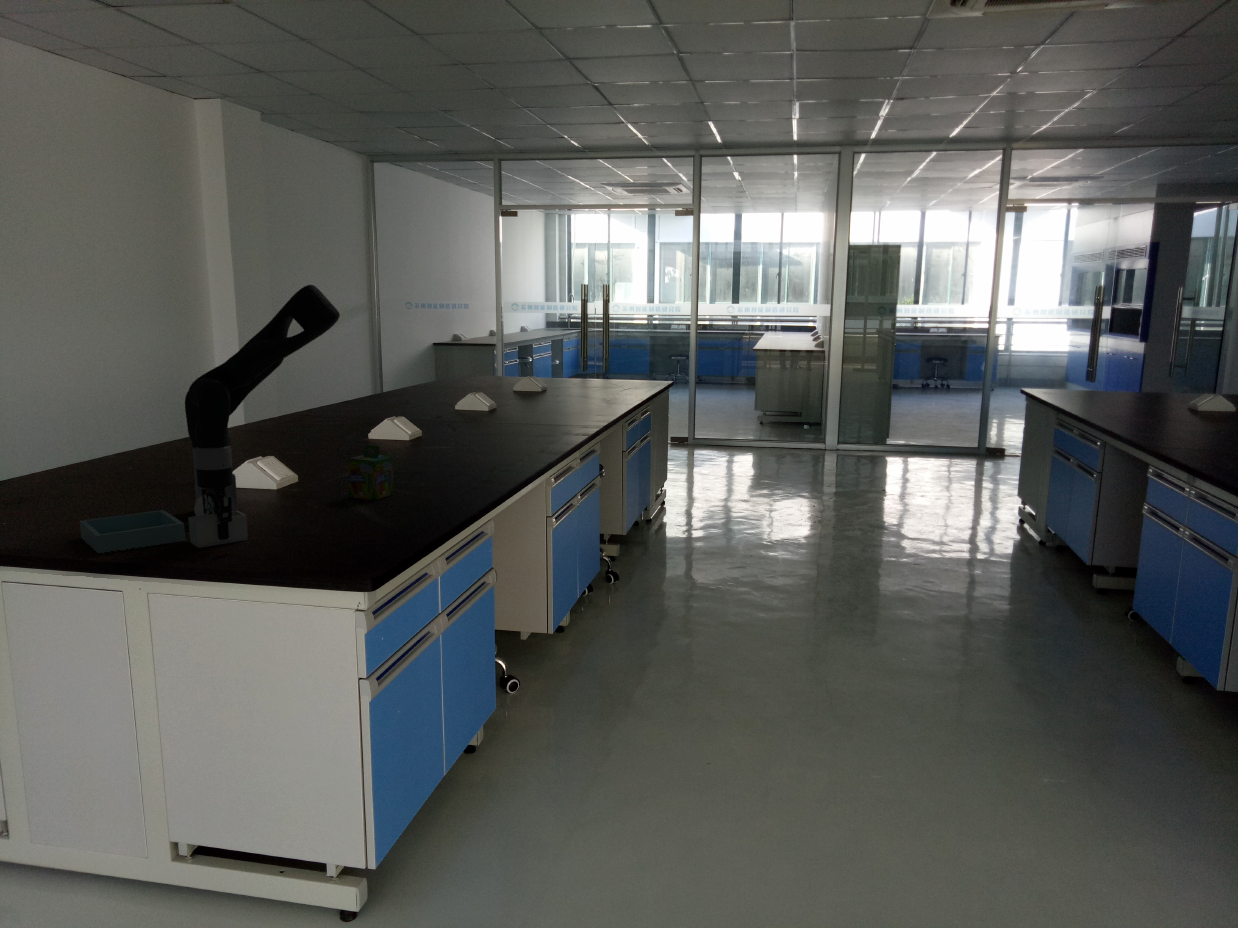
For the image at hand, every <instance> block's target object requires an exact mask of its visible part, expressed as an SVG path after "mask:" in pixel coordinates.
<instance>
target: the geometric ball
mask: <svg viewBox="0 0 1238 928" xmlns="http://www.w3.org/2000/svg"><path fill="white" fill-rule="evenodd" d="M193 510H194V514H195V516H200V515H206V514H204V509H203V501H202V496H201V497H200V498H199V499H198V500H196V499H195V504H194V508H193Z"/></svg>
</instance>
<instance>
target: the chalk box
mask: <svg viewBox="0 0 1238 928" xmlns="http://www.w3.org/2000/svg"><path fill="white" fill-rule="evenodd" d="M370 450H373V451H374V453H373V454H372V453H369V451H370ZM363 452H364V453H363V455H358V456H354V457H349V458H348V460H347V461H348V497H349V498H351V499H359V500H365V501H366V500H367V501H373V502H375V501H377V500H381V499H384V498H386V497H391V496H393V495H394V487H393V486H394V482H393V481H394V480H393V479H394V477H393V475H394V472H393V471H394V470H393V468H394V467H393V462H394V461H393V460H394V459H393V457H392V456H389V455H382V454H380V453H379V452H380V446H379V445H374V444H373V445H370V444H366V445H365V446H364V451H363Z"/></svg>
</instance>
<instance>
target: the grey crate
mask: <svg viewBox="0 0 1238 928" xmlns="http://www.w3.org/2000/svg"><path fill="white" fill-rule="evenodd" d="M223 517H225V515H224V514H223ZM247 520H248V519H247V514H245V513H243V512H241V511H239V510H238V509H237V510H232V521H231V522H229V523H228V529H229V538H228V539H224V540H220V539H218V528H217V520H216V516H215V515H213V514H208V515H200V516H196V515H193V516H188V529H189V541H190V542H189V543H191V544H192V545H193V546H195V547H196V548H199V549H200V548H207V547H211V546H212V547H213V546H219V545H224V544H231V543H236V542H243V541H248V540H249V535H248V534H249V533H248V521H247Z"/></svg>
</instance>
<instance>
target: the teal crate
mask: <svg viewBox="0 0 1238 928" xmlns="http://www.w3.org/2000/svg"><path fill="white" fill-rule="evenodd" d="M79 527H80V528H79V529H80V538H81V539H82V540H83V541H84V543H85V544H87V545H88V546H89V545H90V546H91V547H92V548H93V549H94V550H95V551H96V552H97V553H102V554H105V553H104V552H109V553H111V552H110V551H115V552H117V551H116V550H122V551H127V550H126V549H128V550H132V549H131V548H135V549H140V548H139V547H141V548H145V547H146V546H148V547H152V546H153V545H154V546H159V545H160V544H161V545H165V544H173V543H178V542H186V532H185V523H184V522H182V520H179V519H178V518H177V517H175V516H173V515H172V514H170V513H169V512H167V511H165V510H164V509H160V510H154V511H152V510H151V511H146V512H139V513H138V512H137V513H130V514H122V515H116V516H107V517H99V518H92V519H91V518H90V519H83V520H79ZM90 546H89V547H90ZM91 547H90V548H91ZM92 548H91V549H92ZM146 548H147V547H146ZM93 549H92V550H93ZM94 550H93V551H94ZM95 551H94V552H95ZM96 552H95V553H96ZM97 553H96V554H97Z"/></svg>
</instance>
